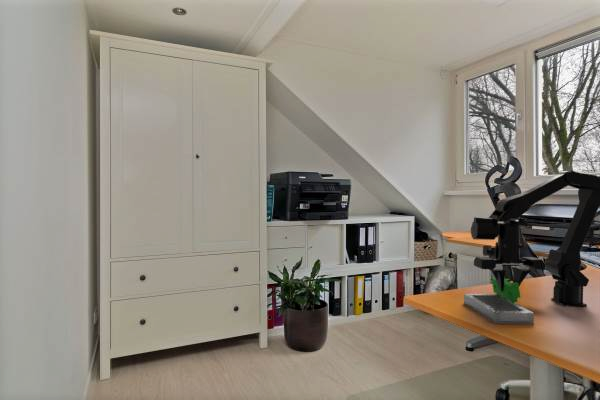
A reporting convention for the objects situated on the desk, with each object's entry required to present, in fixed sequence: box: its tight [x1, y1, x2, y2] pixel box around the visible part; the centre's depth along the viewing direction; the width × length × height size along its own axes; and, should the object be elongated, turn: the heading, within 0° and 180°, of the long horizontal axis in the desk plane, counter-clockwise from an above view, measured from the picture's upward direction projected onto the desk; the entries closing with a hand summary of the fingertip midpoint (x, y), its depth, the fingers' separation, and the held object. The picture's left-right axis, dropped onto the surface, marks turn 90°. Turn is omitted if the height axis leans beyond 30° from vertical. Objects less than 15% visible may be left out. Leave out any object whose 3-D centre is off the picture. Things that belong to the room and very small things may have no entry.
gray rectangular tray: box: [463, 293, 535, 325], centre depth 101 cm, size 10×17×3 cm, turn 0°
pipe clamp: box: [491, 277, 521, 303], centre depth 112 cm, size 11×4×5 cm, turn 0°
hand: (507, 291), depth 112 cm, fingers closed on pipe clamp, 4 cm apart
